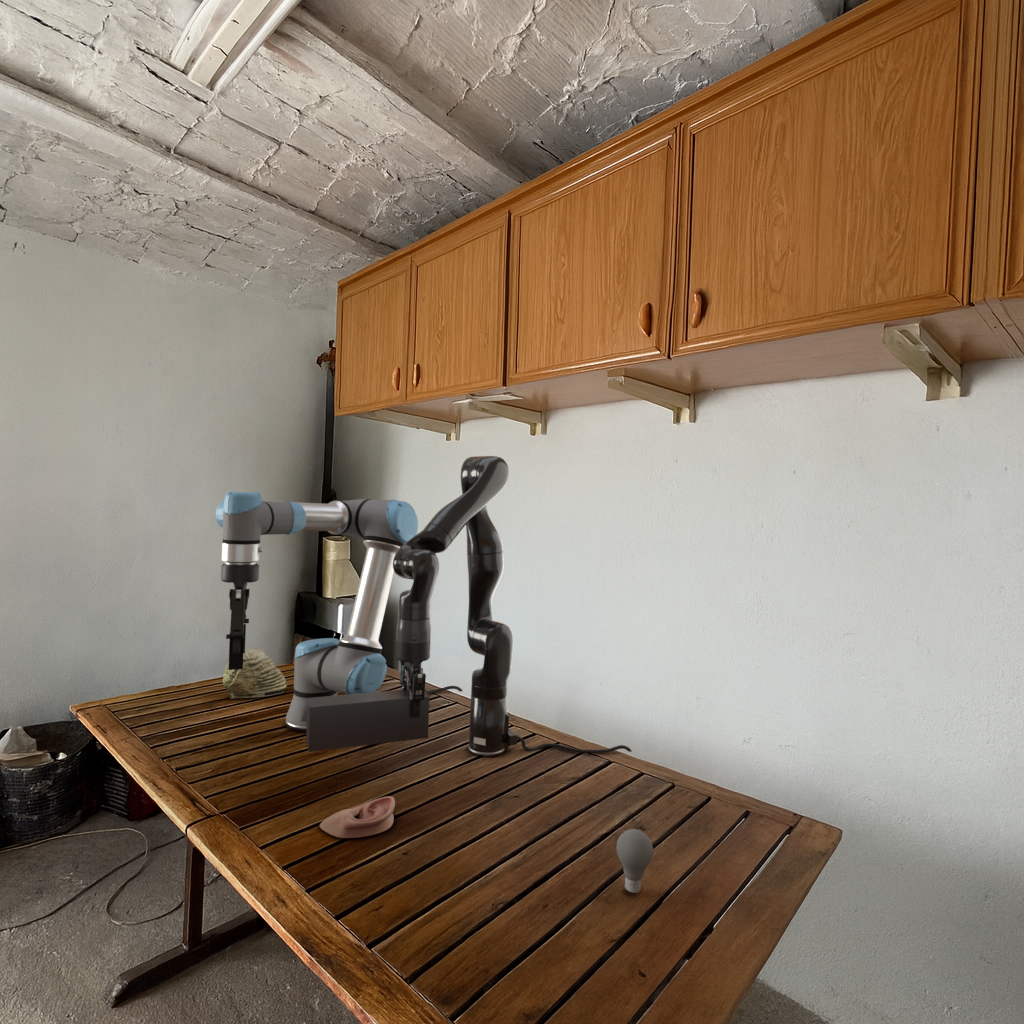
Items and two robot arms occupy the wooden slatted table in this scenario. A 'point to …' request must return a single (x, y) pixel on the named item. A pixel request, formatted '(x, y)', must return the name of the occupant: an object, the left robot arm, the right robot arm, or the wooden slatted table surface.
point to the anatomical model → (361, 819)
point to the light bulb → (634, 857)
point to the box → (363, 719)
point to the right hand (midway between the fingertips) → (411, 712)
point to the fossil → (254, 676)
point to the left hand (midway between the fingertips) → (237, 661)
